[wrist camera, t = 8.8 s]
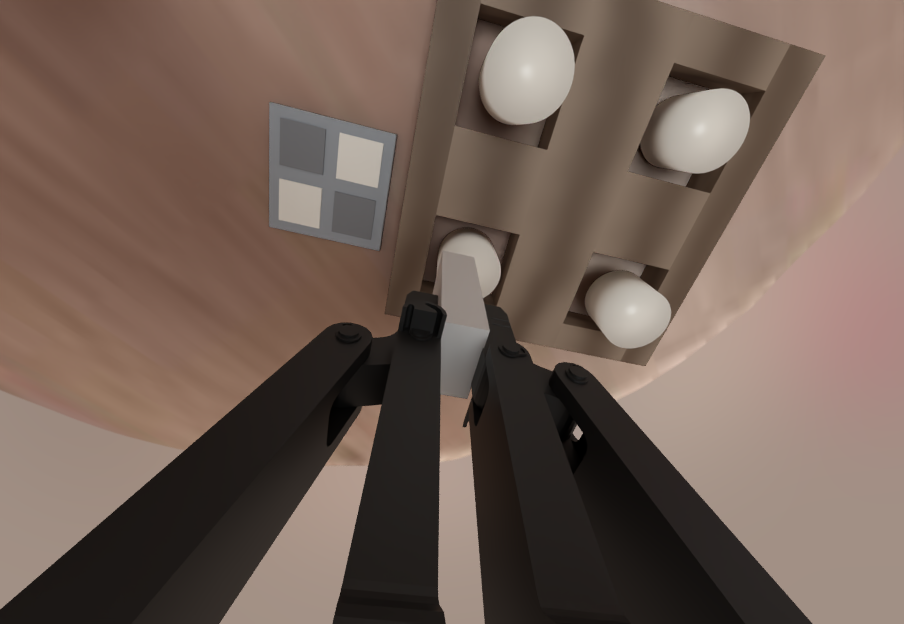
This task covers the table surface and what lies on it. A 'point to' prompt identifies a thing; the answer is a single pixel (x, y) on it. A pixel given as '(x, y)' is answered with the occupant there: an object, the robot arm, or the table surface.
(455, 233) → the button
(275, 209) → the card
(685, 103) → the button
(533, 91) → the button
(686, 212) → the board
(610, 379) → the table surface
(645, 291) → the button
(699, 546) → the robot arm
